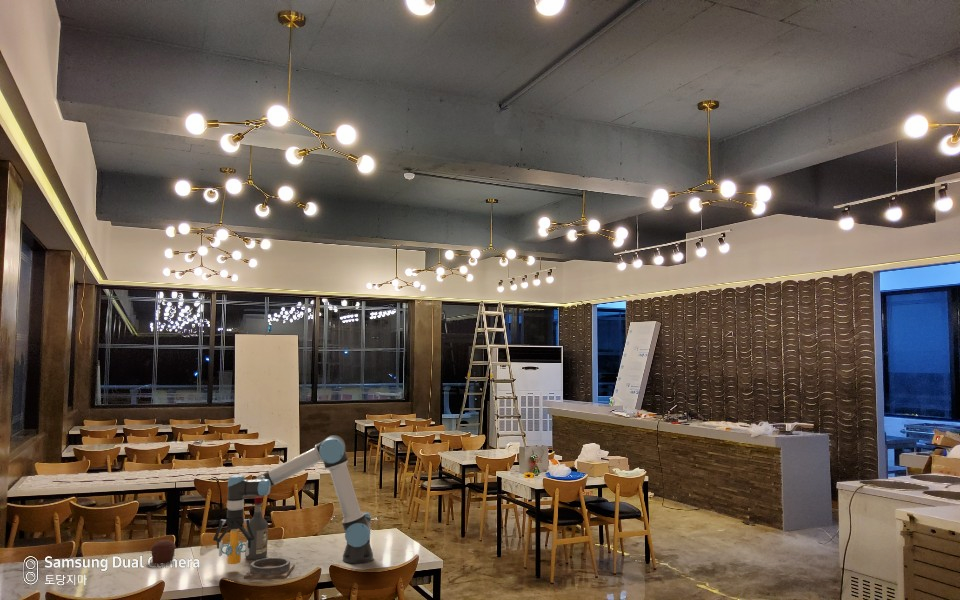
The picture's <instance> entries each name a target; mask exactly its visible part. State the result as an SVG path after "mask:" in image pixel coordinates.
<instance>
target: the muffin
mask: <svg viewBox="0 0 960 600" xmlns="http://www.w3.org/2000/svg"><path fill="white" fill-rule="evenodd" d="M176 548H177V546H176V544H175V542H174V541H172V540H170V539H161V540H160V539H159V540H158V541H156V542H155V543H153V544H152V546H151V547H150V551H151V558H152V559H151V560H152V561H151V562H152V563H153V564H155V563H156V564H157V565H161V564H160V563H165V564H168V563H167V562H169V563H171V562H172V561H173V558H174V554H175V549H176ZM170 561H171V562H170Z"/></svg>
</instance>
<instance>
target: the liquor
mask: <svg viewBox="0 0 960 600" xmlns="http://www.w3.org/2000/svg"><path fill="white" fill-rule="evenodd" d="M262 504H263V496H261V495H257V496H255V497H254V513H253V516H252V518H251V519H250V524H251V526H252V529H253V531H254V534H255V537H256V538H255V539H254V540H252V541H251V548H249V555H248V556H246V552H244V553H245V554H244V555H245V556H244V557H245V558H246V560H250V561H251V560H252V561H256V560H259V559H264V558H267V555H268V542H269V541H268V540H269V539H268V536H269V523H268V521H267V520H266V518H264V516H263V514H262V513H263V512H262V509H263V507H262V506H263V505H262ZM245 529H246V531H247V532H248V534H249V535H250V533H249V531H248V528H247V526H246V528H245ZM246 541H248V540H247V539H246V538H245V542H246Z"/></svg>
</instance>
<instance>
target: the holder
mask: <svg viewBox="0 0 960 600" xmlns="http://www.w3.org/2000/svg"><path fill="white" fill-rule="evenodd" d="M295 566H296V565H295V562H294V563H293V562H292V563H291V561H290V560H289V559H288V558H284V557H264V558H262V559H259V560H252V562H251V563H250V564H249V569H248V570H247V572H246V573H245V574H244V575H243V579H286V578H287V577H288V576H289V574H290V573H291V572H292V570H293V569H294V567H295Z"/></svg>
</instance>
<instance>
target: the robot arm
mask: <svg viewBox="0 0 960 600" xmlns="http://www.w3.org/2000/svg"><path fill="white" fill-rule="evenodd" d="M320 462H322V463H323V465H324V469H326V470H327V471H329V474H330V477H331V479H332V483H333V487H334V490H335V494H336V497H337V499H338V503H339V506H340V507H339V508H340V510H341V513H342V517H343V519H342V520H341V524H342V528H343V530H344V537H345V540H346V545H345V548H344V551H343V553H342V561H343V562H344V563H348V564H365V563H370V562H372V561H373V560H374V552H373V550H372V545H371V520H372V517H371V513H370V512H363V511H361V507H360V505H359V500H358V499H357V495H356V492H355V488H354V485H353V484H354V483H353V482H352V478H351V474H350V471H349V469H348V465H347V464H348V462H349V457H348V454H347V451H346V443H345V441H344V439H343V437H341V436H339V435H329V436H327V437H326V438H324V440H321V442H319V443H316V444H315V445H314V447H313V448H311V449H310V450H308V451H305V452H303V453H301V454H299V455H297V456H296V457H294V458H291V459H290V460H288V461H285V462H283V463H282V464H280V465H278V466H276V467H274V468H272V469H270V470H268V471H266V472H264V473H261V474H259V475H257V477H256V478H255V479H246V478H245V475H242V474H241V475H240V474H235V475H231V476H229V477H228V481H227V501H226V502H227V503H226V508H227V509H226V519H223V518H222V519H219V524H218V528H217V529H216V532H215V534H214V536H213V539H212V540H213V541H214V542H216V548H217V549H218V557H221V556H223V553H222V552H221V547H222V546H223V545H224V544H223V540H222V539H223V538H224V537H225V535H226V534H227V533H228V531H229V530H234V529H238V530H239V531H241V533H242V534H243V536H244V537H245V544H246V546H245V549H246V556H248V555H249V548H251V541H252V540H254V539H255V538H256V537H255V534H254V531H253V529H252V526H251V524H250V520H251V519H250V518H248V519H245V518H244V513H245V512H244V507H245V505H244V504H245V497H248V496H255V497H257V496H261V497H263V496H268V495H270V493H271V488H272V487H274V486H275V485H277V484H279V483H281V482H283V481H285V480H287V479H289V478H291V477H293V476H295V475H297V474H299V473H301V472H303V471H304V470H306V469H309V468H310V467H312V466H315V465H316V464H318V463H320ZM225 524H226V525H227V526H226V527H225V529H224V530H223V532H222V533H221V531H222V529H223V526H224V525H225ZM243 524H245V526H246V527H247V528H248V531H249V533H250V535H249V534H248V532H247V531H246V528H245V526H244V525H243ZM220 533H221V534H220ZM246 539H247V540H248V541H246Z"/></svg>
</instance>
